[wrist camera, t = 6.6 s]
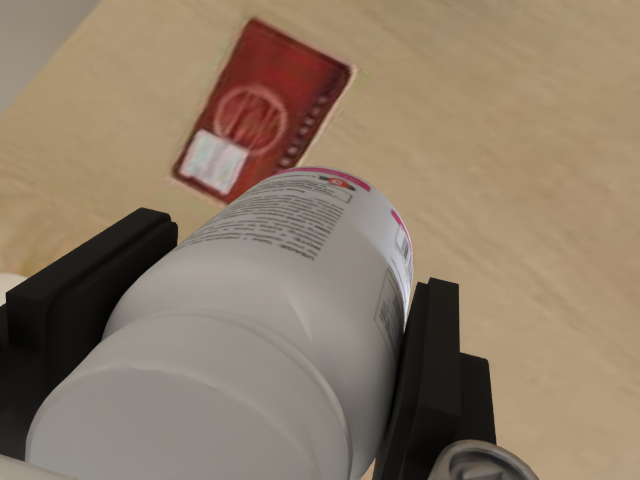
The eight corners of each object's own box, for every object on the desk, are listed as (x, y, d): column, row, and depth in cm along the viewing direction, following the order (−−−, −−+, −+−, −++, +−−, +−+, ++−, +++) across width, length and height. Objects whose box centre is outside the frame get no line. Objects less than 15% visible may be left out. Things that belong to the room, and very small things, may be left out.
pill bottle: (197, 256, 15) (-65, 486, 8) (305, 120, 13) (106, 241, 6) (331, 371, 16) (211, 704, 8) (456, 253, 14) (460, 537, 6)
